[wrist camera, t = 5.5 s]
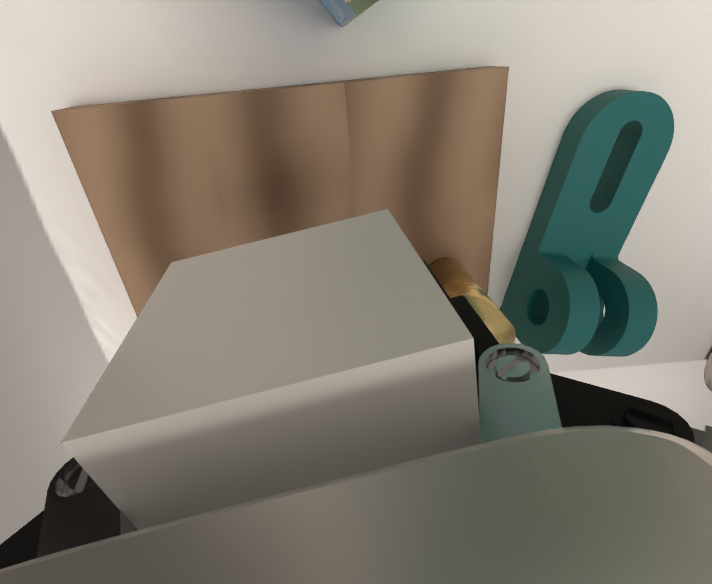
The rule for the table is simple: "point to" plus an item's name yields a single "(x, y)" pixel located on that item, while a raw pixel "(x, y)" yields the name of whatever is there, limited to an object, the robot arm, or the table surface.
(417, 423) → the cream cube
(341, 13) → the milk carton
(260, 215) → the walnut board
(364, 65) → the table surface
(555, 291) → the bracket
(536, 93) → the table surface
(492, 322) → the brass pin
